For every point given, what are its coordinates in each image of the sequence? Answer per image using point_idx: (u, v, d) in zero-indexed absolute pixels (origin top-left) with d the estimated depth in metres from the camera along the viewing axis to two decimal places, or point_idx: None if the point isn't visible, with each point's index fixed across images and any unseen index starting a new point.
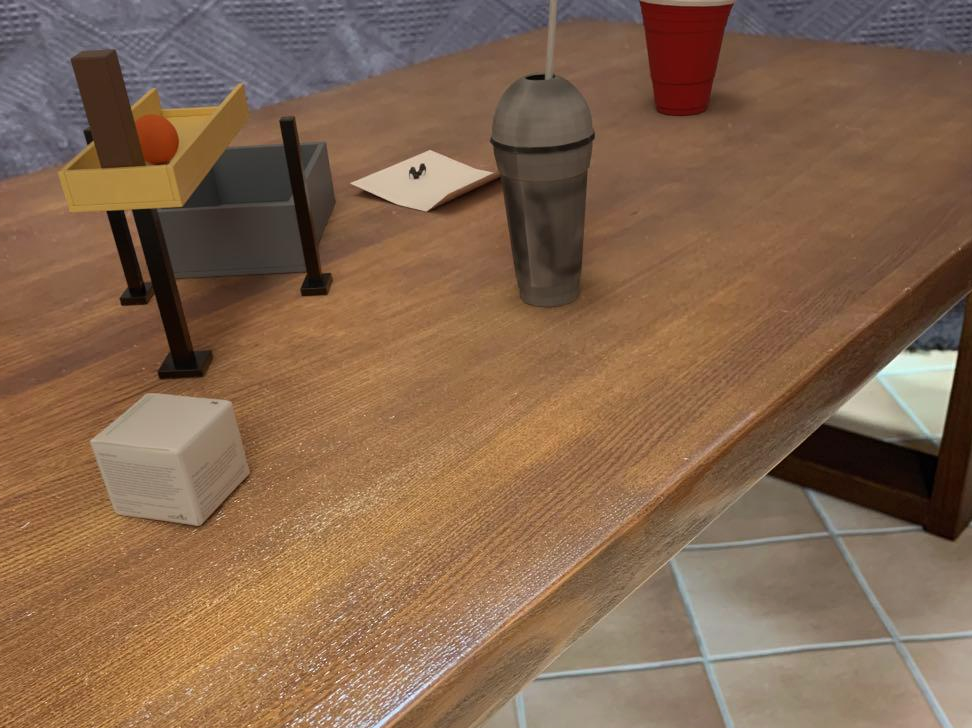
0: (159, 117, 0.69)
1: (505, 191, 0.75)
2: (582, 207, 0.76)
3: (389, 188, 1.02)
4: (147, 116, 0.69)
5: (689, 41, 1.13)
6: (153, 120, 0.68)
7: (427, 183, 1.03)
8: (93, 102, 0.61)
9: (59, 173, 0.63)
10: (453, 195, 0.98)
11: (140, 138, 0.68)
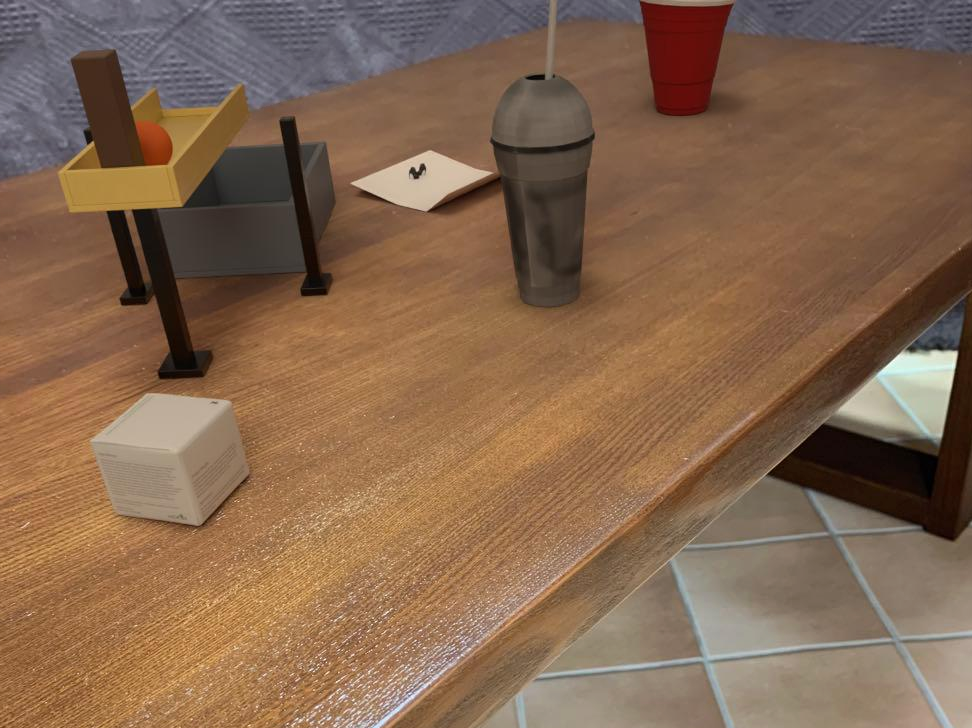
0: (150, 139, 0.67)
1: (505, 191, 0.75)
2: (582, 207, 0.76)
3: (389, 188, 1.02)
4: None
5: (689, 41, 1.13)
6: (147, 148, 0.67)
7: (427, 183, 1.03)
8: (93, 102, 0.61)
9: (59, 173, 0.63)
10: (453, 195, 0.98)
11: None
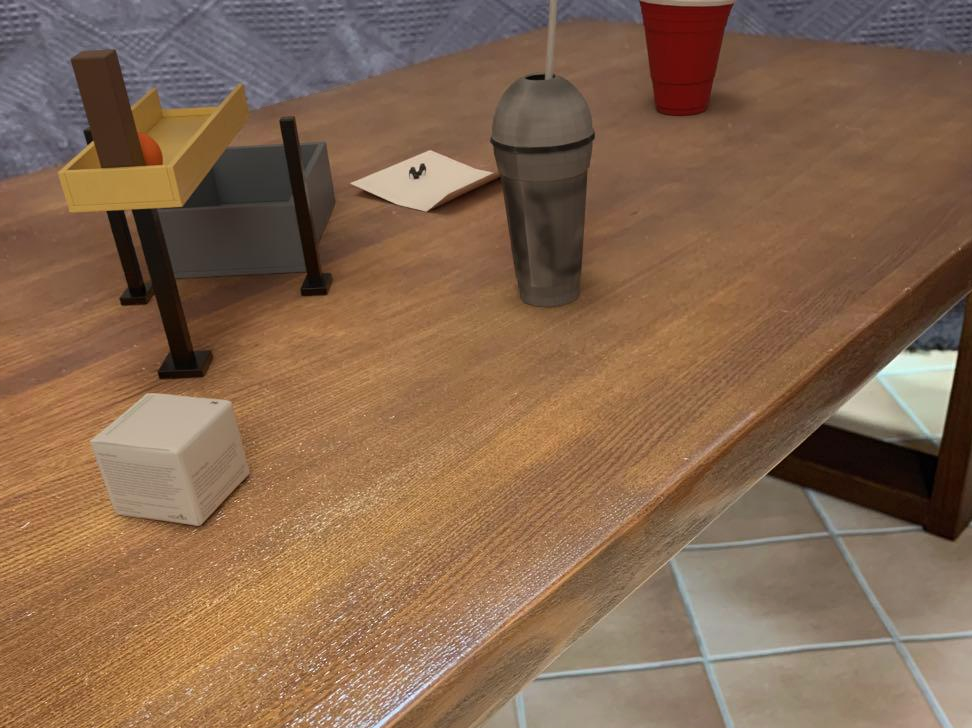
0: None
1: (505, 191, 0.75)
2: (582, 207, 0.76)
3: (389, 188, 1.02)
4: None
5: (689, 41, 1.13)
6: None
7: (427, 183, 1.03)
8: (93, 102, 0.61)
9: (59, 173, 0.63)
10: (453, 195, 0.98)
11: None
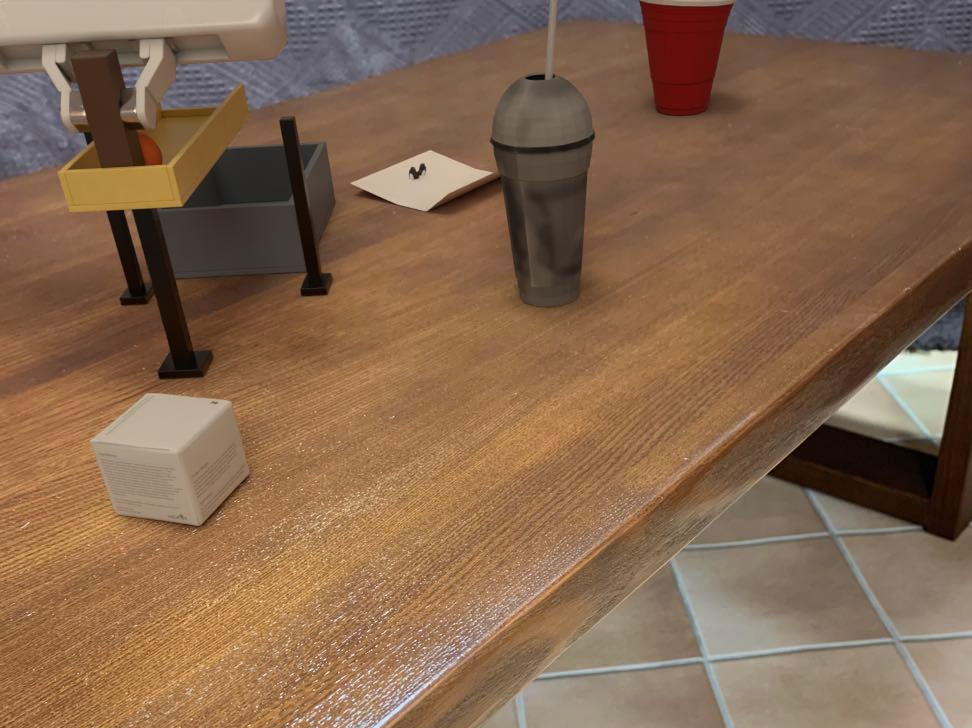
0: None
1: (505, 191, 0.75)
2: (582, 207, 0.76)
3: (389, 188, 1.02)
4: None
5: (689, 41, 1.13)
6: None
7: (427, 183, 1.03)
8: (93, 102, 0.61)
9: (59, 173, 0.63)
10: (453, 195, 0.98)
11: None
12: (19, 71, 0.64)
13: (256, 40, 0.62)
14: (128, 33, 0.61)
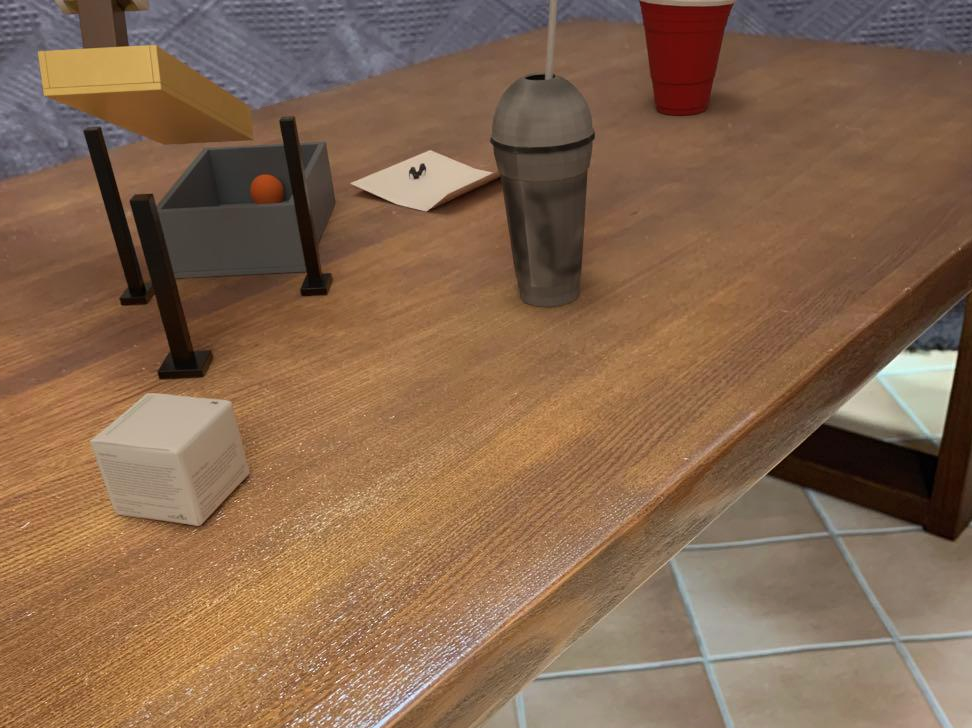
0: (270, 179, 0.97)
1: (505, 191, 0.75)
2: (582, 207, 0.76)
3: (389, 188, 1.02)
4: (262, 180, 0.96)
5: (689, 41, 1.13)
6: (267, 184, 0.96)
7: (427, 183, 1.03)
8: None
9: (39, 52, 0.61)
10: (453, 195, 0.98)
11: (259, 198, 0.97)
12: None
13: None
14: None
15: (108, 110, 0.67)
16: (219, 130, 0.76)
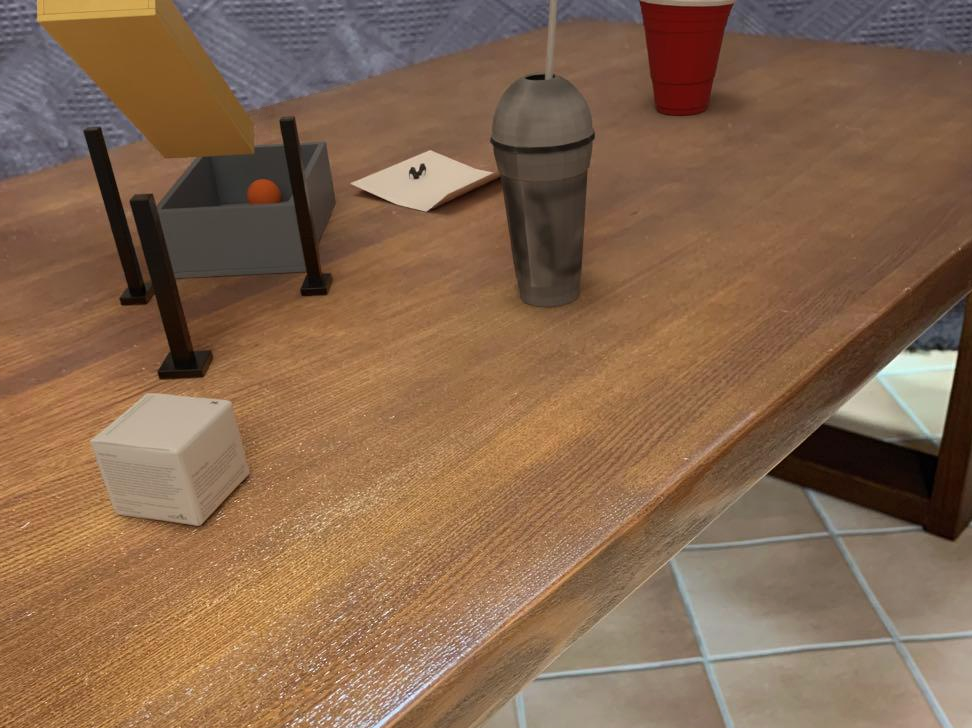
0: (268, 197, 0.95)
1: (505, 191, 0.75)
2: (582, 207, 0.76)
3: (389, 188, 1.02)
4: (260, 200, 0.95)
5: (689, 41, 1.13)
6: (266, 203, 0.96)
7: (427, 183, 1.03)
8: None
9: None
10: (453, 195, 0.98)
11: None
12: None
13: None
14: None
15: (104, 64, 0.67)
16: (219, 126, 0.76)
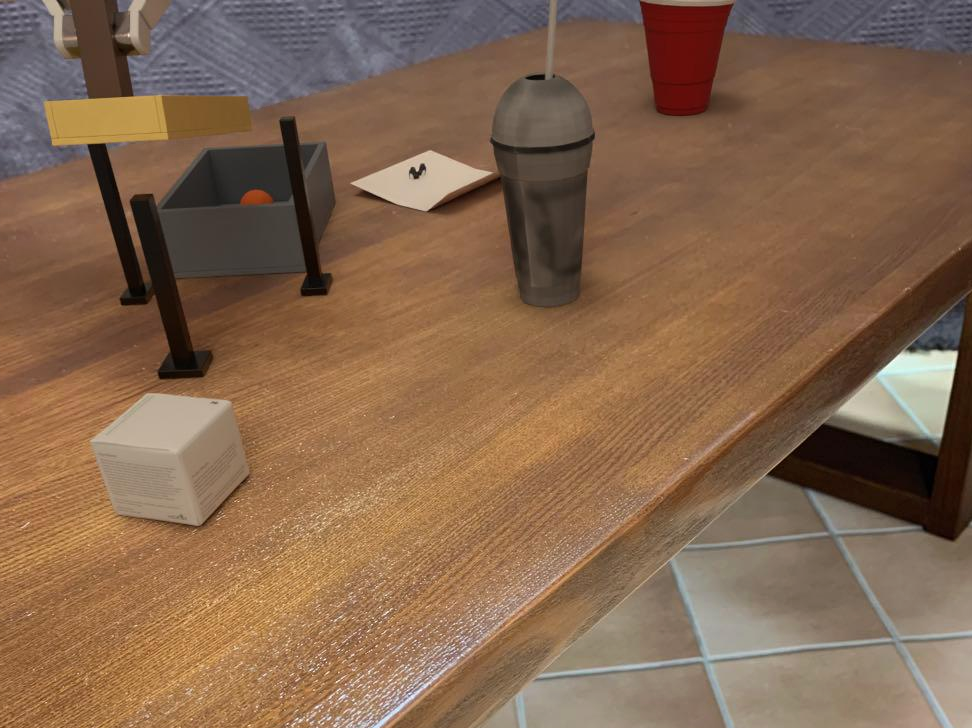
0: None
1: (505, 191, 0.75)
2: (582, 207, 0.76)
3: (389, 188, 1.02)
4: None
5: (689, 41, 1.13)
6: None
7: (427, 183, 1.03)
8: (86, 29, 0.61)
9: (45, 102, 0.62)
10: (453, 195, 0.98)
11: None
12: None
13: None
14: None
15: None
16: None
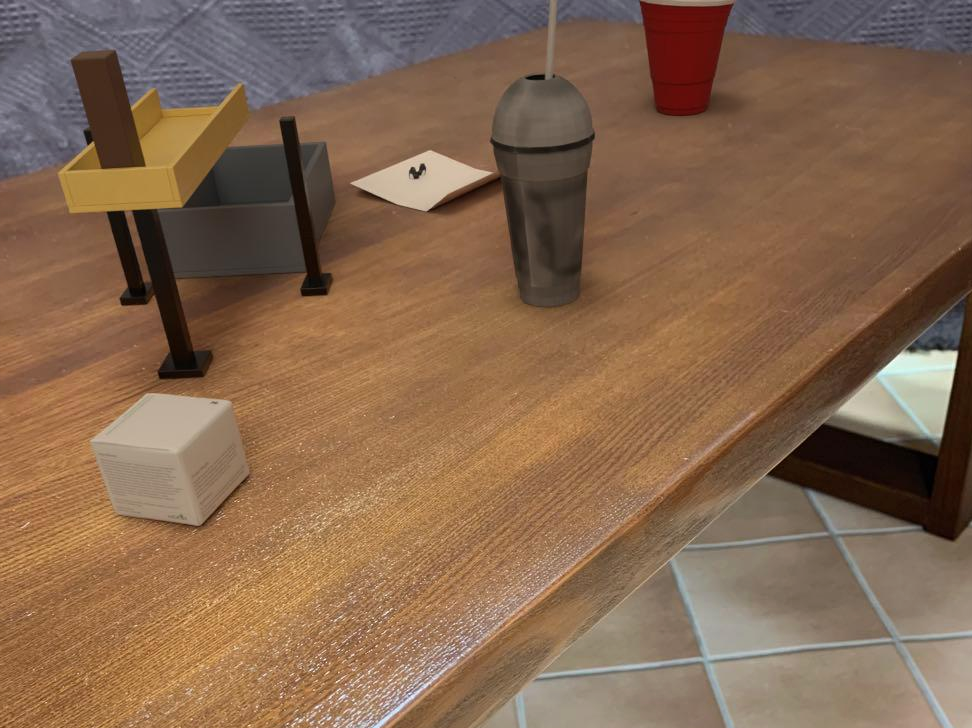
0: None
1: (505, 191, 0.75)
2: (582, 207, 0.76)
3: (389, 188, 1.02)
4: None
5: (689, 41, 1.13)
6: None
7: (427, 183, 1.03)
8: (93, 103, 0.61)
9: (59, 174, 0.63)
10: (453, 195, 0.98)
11: None
12: None
13: None
14: None
15: None
16: None
